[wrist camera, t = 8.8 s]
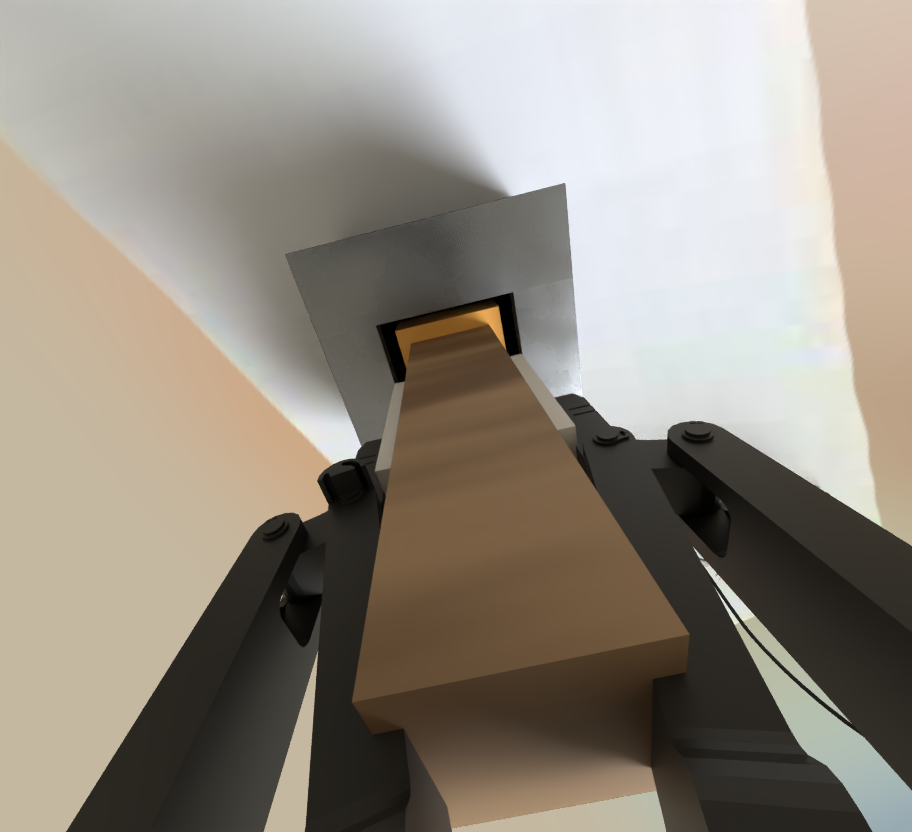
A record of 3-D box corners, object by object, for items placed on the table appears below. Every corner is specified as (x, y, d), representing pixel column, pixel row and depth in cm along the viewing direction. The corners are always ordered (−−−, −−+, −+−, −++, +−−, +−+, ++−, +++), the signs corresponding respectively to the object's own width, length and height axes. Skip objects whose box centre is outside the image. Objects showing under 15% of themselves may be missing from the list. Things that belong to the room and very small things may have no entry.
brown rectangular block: (411, 343, 19) (351, 701, 4) (489, 324, 19) (689, 634, 4) (431, 413, 21) (434, 832, 6) (502, 396, 20) (676, 787, 6)
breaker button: (403, 307, 24) (395, 331, 18) (482, 288, 24) (498, 306, 18) (423, 380, 27) (422, 422, 21) (496, 363, 26) (514, 401, 21)
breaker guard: (336, 245, 25) (285, 254, 16) (515, 200, 24) (565, 183, 15) (398, 426, 31) (385, 506, 22) (540, 393, 31) (587, 461, 22)
